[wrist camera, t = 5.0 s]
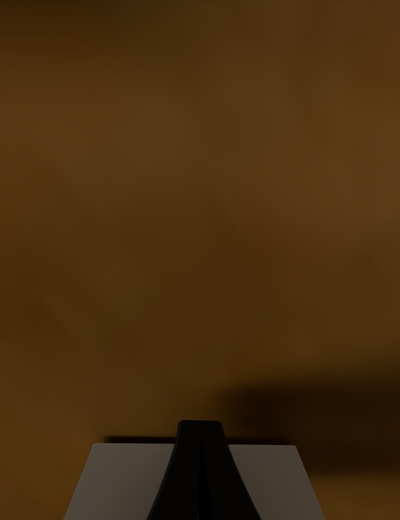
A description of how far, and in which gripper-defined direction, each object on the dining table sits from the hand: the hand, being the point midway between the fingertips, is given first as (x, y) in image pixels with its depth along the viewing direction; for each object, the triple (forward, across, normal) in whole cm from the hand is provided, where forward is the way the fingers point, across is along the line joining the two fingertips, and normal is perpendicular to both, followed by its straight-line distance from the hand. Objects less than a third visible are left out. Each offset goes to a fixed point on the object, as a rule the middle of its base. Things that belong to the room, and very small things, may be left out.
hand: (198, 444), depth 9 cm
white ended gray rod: (+1, 0, +14) cm, 14 cm away
